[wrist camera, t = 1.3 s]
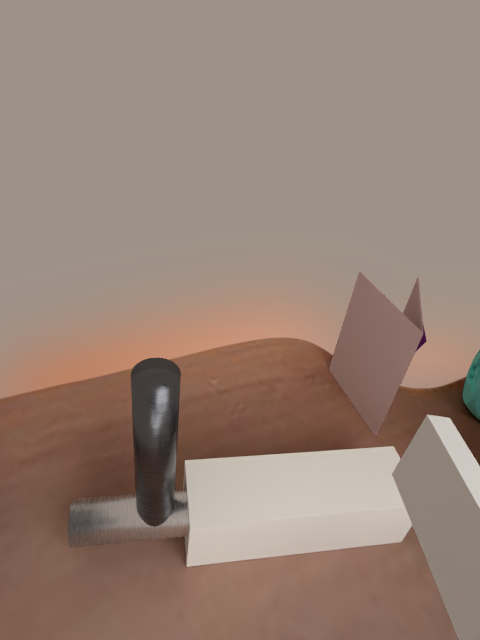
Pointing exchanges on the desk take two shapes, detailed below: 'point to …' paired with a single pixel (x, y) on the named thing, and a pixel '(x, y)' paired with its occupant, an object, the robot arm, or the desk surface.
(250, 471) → the elongated cream cuboid
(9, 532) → the desk surface
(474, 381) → the decorative dice
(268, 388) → the desk surface
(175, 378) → the slide bolt
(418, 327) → the greeting card
